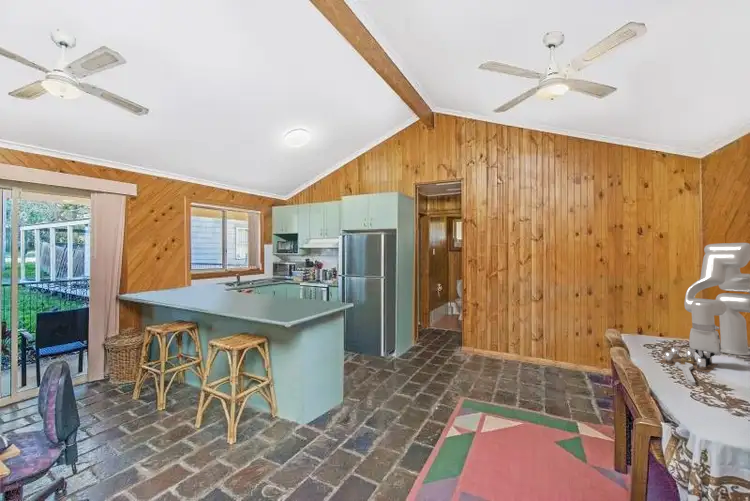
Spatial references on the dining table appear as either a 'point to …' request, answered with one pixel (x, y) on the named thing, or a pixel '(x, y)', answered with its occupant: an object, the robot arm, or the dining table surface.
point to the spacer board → (708, 368)
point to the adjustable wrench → (686, 372)
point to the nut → (687, 360)
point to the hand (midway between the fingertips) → (705, 365)
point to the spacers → (690, 354)
